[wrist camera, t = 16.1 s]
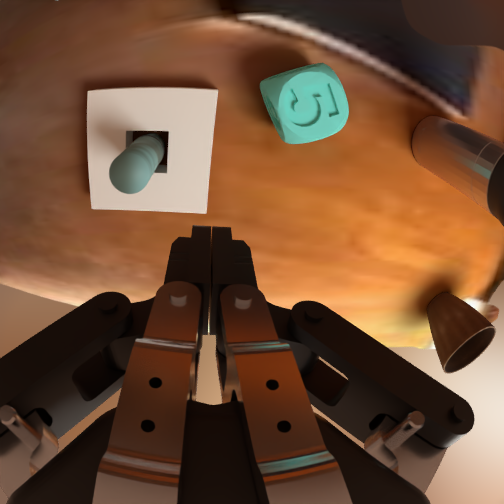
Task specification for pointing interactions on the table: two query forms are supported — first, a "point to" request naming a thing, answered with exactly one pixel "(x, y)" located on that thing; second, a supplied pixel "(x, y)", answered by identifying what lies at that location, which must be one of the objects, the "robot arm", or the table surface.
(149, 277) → the table surface
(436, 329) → the plant pot
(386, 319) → the table surface
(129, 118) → the hole board
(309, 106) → the decorative dice
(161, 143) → the peg
